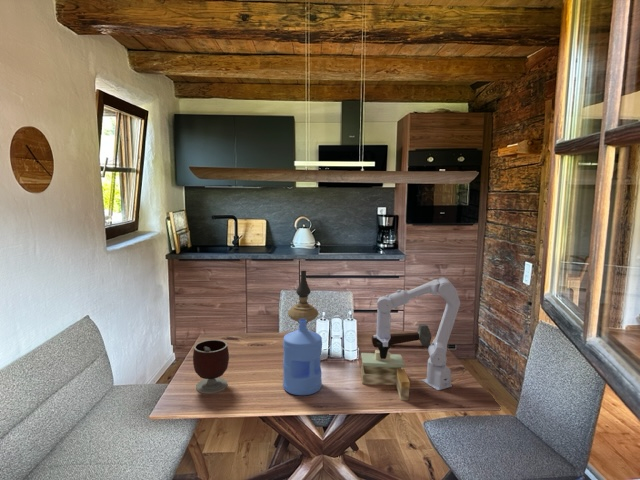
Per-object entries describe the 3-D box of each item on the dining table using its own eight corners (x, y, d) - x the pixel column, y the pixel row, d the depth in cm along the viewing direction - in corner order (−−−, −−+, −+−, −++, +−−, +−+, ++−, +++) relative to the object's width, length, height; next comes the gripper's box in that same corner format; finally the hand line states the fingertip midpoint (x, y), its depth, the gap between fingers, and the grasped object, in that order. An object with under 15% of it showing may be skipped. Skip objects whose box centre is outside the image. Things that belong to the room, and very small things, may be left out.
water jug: (275, 384, 166) (275, 318, 163) (306, 374, 176) (307, 311, 172) (297, 400, 154) (297, 329, 150) (329, 388, 164) (330, 321, 160)
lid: (400, 359, 176) (400, 348, 176) (404, 369, 166) (405, 357, 166) (361, 357, 177) (361, 346, 176) (362, 367, 167) (363, 355, 166)
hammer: (373, 354, 207) (432, 346, 207) (371, 333, 206) (430, 325, 206) (372, 350, 212) (429, 343, 212) (370, 329, 210) (427, 322, 211)
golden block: (404, 374, 165) (404, 369, 165) (409, 388, 154) (409, 382, 154) (396, 374, 165) (396, 368, 165) (401, 388, 154) (401, 381, 154)
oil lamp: (283, 347, 205) (283, 269, 200) (310, 342, 211) (311, 267, 206) (294, 358, 191) (294, 275, 186) (322, 353, 198) (324, 273, 192)
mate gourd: (199, 377, 171) (198, 332, 169) (232, 378, 171) (231, 332, 169) (187, 396, 156) (186, 346, 153) (223, 397, 156) (222, 347, 153)
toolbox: (399, 374, 177) (400, 362, 177) (409, 400, 155) (410, 387, 155) (360, 373, 178) (361, 361, 177) (365, 399, 156) (365, 386, 155)
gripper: (372, 319, 177) (371, 349, 178) (376, 331, 162) (375, 363, 164) (388, 319, 177) (387, 349, 178) (393, 331, 162) (392, 364, 164)
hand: (382, 356), depth 171 cm, fingers closed on lid, 3 cm apart
